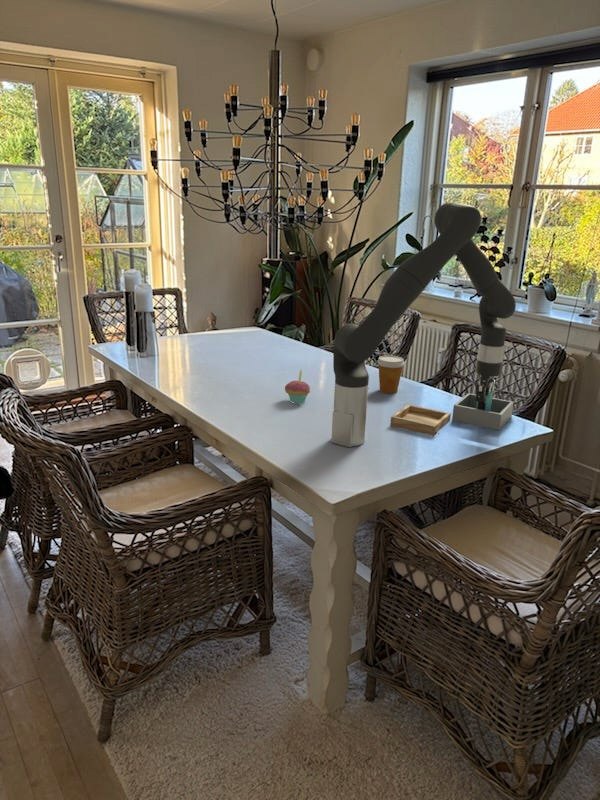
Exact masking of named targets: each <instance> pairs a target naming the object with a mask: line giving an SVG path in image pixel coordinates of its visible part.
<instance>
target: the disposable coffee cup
mask: <svg viewBox="0 0 600 800" xmlns="http://www.w3.org/2000/svg"><path fill="white" fill-rule="evenodd" d="M376 362H377V364H378V379H379V381H378V382H379V391H380V392H382V393H384V394H396V393H398V389H399V385H400V380H401V376H402V371H403V368H404V365H405V361H404V358H402V357H400V356H396V355H381V356H379V357H378V360H376Z"/></svg>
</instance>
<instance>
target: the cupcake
mask: <svg viewBox="0 0 600 800" xmlns="http://www.w3.org/2000/svg"><path fill="white" fill-rule="evenodd" d="M298 373H299V376H298V380H292V381H289V382H288V383H287V384H285V386H284V390H285V391H284V392H285V393H286V394H288V397H289V400H290V402H291V401H292V402H294V403H302V404H304V403H305V401H306V399H307V397H308V394H310V393H311V386H310V385H309V383H307V382H306V381H301V379H302V373H303V371H302V370H300V371H299V372H298ZM292 402H291V403H292ZM303 402H304V403H303ZM294 403H293V404H294Z"/></svg>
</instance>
